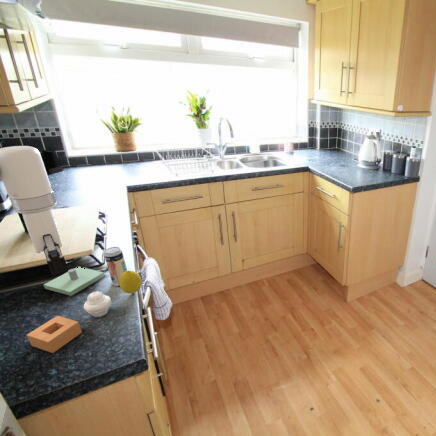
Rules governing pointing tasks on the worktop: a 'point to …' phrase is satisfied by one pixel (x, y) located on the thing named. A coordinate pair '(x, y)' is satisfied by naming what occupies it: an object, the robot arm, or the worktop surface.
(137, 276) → the lemon
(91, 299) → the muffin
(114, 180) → the worktop surface
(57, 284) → the board
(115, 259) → the beer can
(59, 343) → the orange block with hole
